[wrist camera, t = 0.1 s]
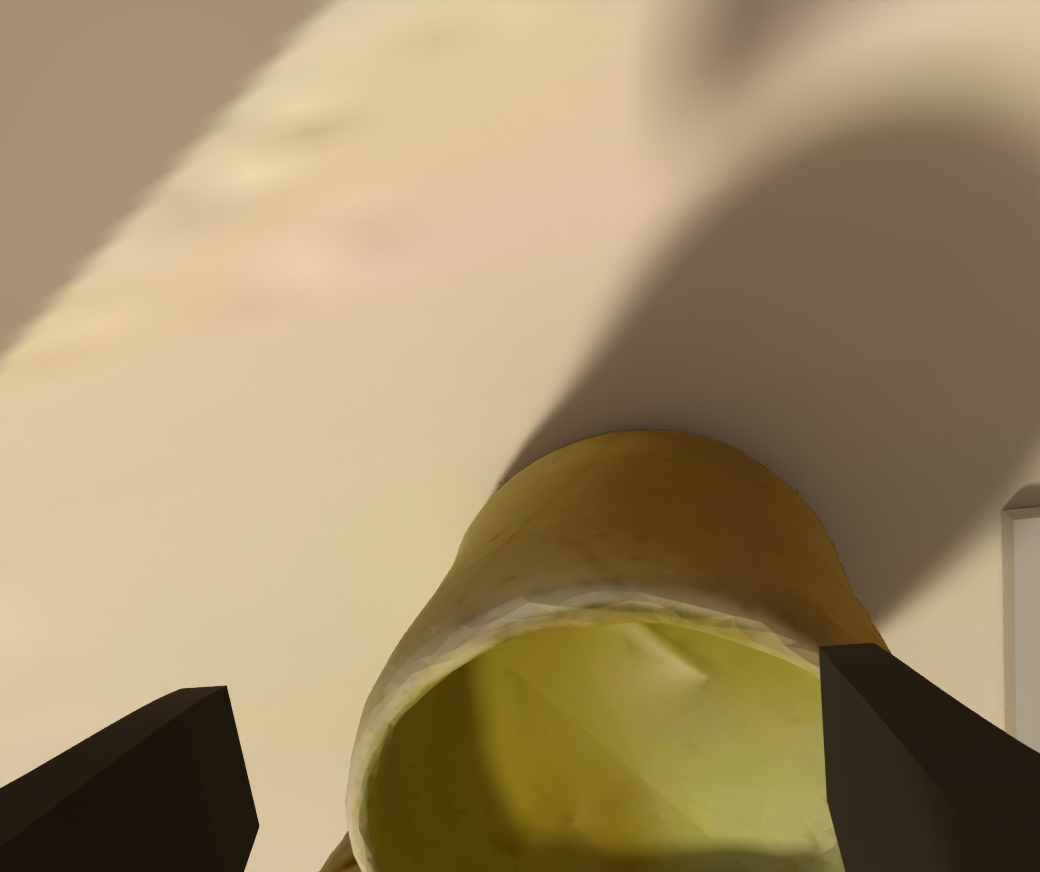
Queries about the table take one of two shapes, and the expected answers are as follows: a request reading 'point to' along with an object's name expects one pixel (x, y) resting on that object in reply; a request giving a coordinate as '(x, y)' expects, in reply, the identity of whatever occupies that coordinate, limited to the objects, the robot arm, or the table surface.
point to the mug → (613, 677)
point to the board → (1022, 623)
